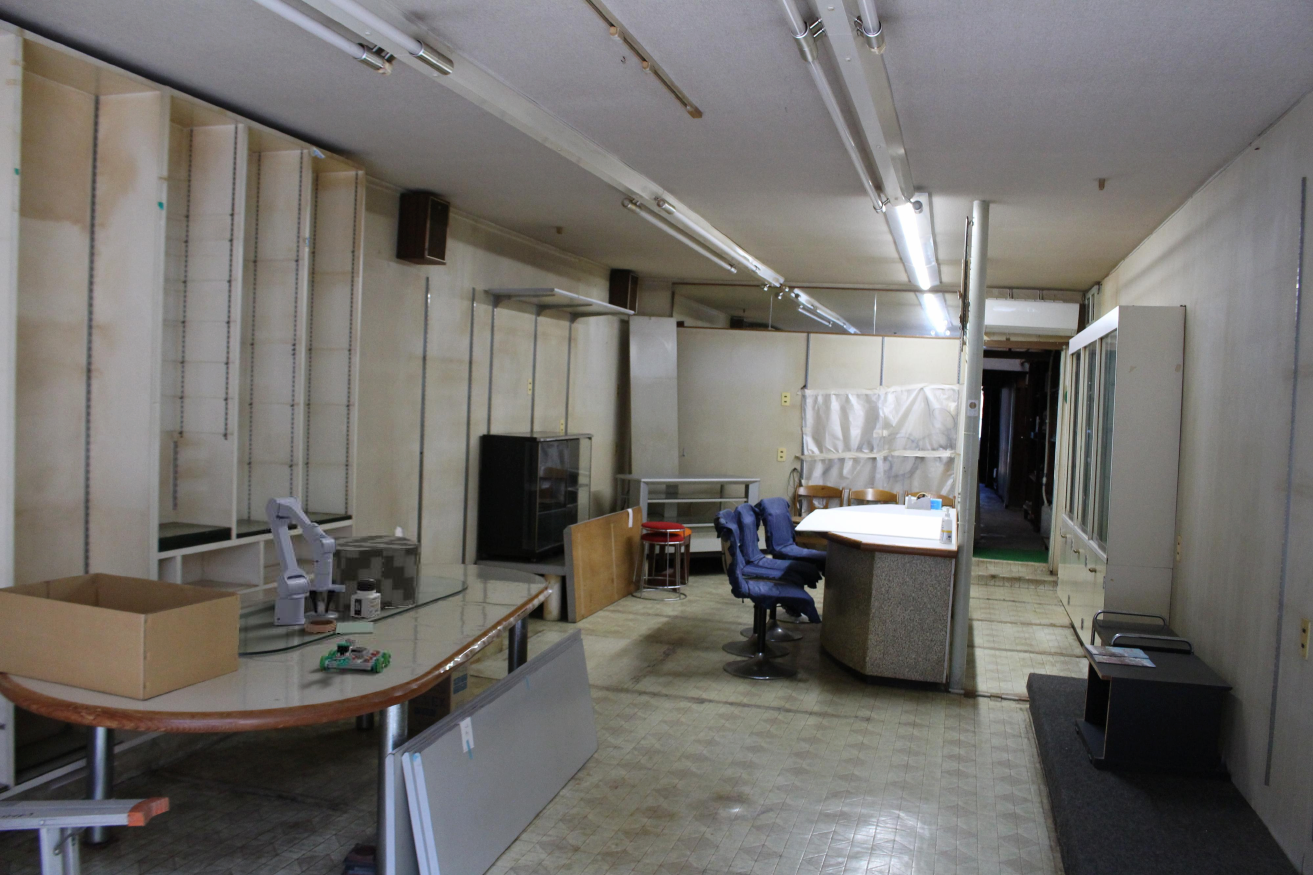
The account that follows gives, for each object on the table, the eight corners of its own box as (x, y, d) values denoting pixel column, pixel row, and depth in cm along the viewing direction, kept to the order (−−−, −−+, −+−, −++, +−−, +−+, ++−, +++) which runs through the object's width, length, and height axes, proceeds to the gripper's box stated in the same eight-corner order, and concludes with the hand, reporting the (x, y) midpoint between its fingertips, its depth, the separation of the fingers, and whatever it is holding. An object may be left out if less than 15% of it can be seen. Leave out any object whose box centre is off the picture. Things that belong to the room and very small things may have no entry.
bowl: (304, 633, 300) (304, 625, 300) (307, 626, 309) (307, 619, 309) (334, 632, 302) (335, 625, 302) (336, 625, 311) (336, 618, 311)
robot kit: (300, 683, 248) (302, 650, 247) (334, 659, 272) (335, 628, 272) (367, 687, 247) (369, 653, 247) (395, 662, 272) (396, 631, 272)
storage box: (425, 606, 349) (427, 547, 348) (332, 613, 329) (335, 551, 329) (396, 589, 378) (398, 534, 377) (309, 595, 358) (311, 537, 358)
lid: (302, 620, 299) (303, 606, 298) (305, 613, 309) (305, 599, 309) (337, 620, 302) (338, 606, 302) (339, 612, 312) (339, 599, 312)
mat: (335, 634, 300) (335, 632, 300) (337, 624, 314) (337, 622, 314) (372, 633, 304) (372, 631, 304) (373, 623, 317) (373, 622, 317)
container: (369, 618, 324) (370, 582, 324) (350, 616, 326) (351, 581, 325) (380, 614, 332) (381, 579, 331) (361, 612, 333) (362, 577, 333)
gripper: (299, 575, 299) (297, 615, 299) (345, 575, 303) (343, 615, 304) (300, 571, 306) (299, 610, 306) (345, 571, 310) (344, 610, 310)
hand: (321, 612), depth 305 cm, fingers closed on lid, 3 cm apart
